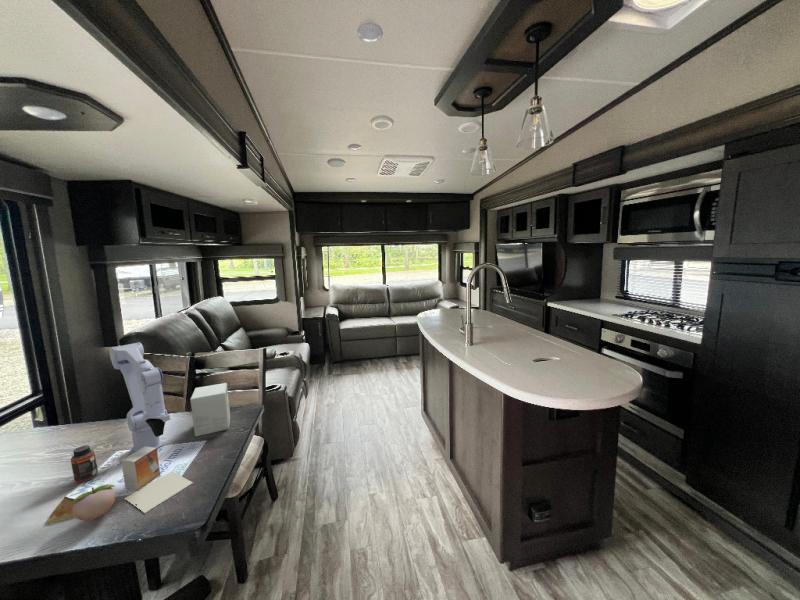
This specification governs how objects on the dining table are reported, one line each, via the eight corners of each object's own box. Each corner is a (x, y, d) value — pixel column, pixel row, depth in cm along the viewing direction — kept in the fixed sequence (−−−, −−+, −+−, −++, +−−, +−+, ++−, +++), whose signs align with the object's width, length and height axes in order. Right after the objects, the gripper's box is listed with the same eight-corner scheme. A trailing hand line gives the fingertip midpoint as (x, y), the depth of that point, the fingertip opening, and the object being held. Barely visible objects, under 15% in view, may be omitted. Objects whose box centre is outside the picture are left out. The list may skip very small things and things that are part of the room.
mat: (124, 499, 99) (124, 498, 99) (172, 472, 112) (171, 471, 112) (144, 513, 94) (144, 512, 94) (193, 483, 106) (192, 482, 106)
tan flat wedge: (65, 500, 100) (64, 495, 100) (96, 492, 103) (95, 487, 103) (45, 526, 90) (44, 521, 90) (80, 516, 94) (79, 511, 93)
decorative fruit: (81, 536, 86) (75, 504, 85) (71, 524, 90) (65, 493, 89) (124, 511, 94) (119, 482, 93) (112, 501, 98) (108, 473, 97)
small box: (138, 490, 103) (133, 462, 101) (124, 488, 104) (120, 460, 103) (161, 474, 111) (157, 447, 109) (148, 472, 112) (144, 445, 110)
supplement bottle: (102, 473, 112) (97, 444, 110) (81, 485, 106) (75, 455, 105) (92, 470, 114) (87, 441, 112) (70, 481, 108) (65, 451, 106)
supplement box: (231, 415, 151) (227, 382, 149) (229, 429, 139) (225, 392, 137) (199, 422, 146) (194, 387, 143) (194, 437, 134) (189, 399, 131)
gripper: (131, 402, 115) (136, 436, 117) (152, 409, 108) (157, 445, 110) (152, 395, 121) (157, 427, 123) (174, 401, 115) (178, 435, 116)
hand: (159, 435), depth 117 cm, fingers closed
